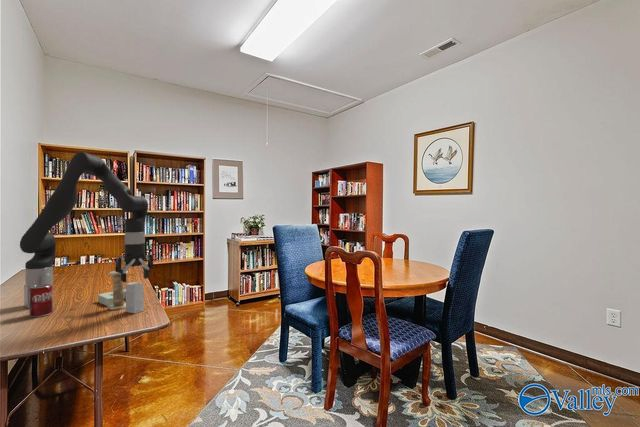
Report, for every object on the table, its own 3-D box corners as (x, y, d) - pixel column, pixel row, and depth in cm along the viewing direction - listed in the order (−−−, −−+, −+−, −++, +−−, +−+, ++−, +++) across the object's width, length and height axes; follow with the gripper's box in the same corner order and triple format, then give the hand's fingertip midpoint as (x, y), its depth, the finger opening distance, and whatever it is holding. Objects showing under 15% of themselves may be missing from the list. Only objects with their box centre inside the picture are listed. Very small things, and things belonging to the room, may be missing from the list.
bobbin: (113, 311, 133) (113, 274, 133) (106, 308, 137) (106, 272, 137) (130, 307, 139) (130, 271, 139) (123, 304, 143) (123, 269, 143)
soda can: (57, 313, 131) (57, 284, 130) (36, 318, 124) (36, 288, 124) (45, 311, 133) (45, 283, 133) (25, 316, 126) (24, 287, 126)
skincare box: (144, 310, 134) (144, 283, 134) (134, 313, 130) (134, 285, 130) (134, 308, 136) (134, 281, 136) (125, 311, 133) (125, 284, 132)
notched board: (108, 306, 139) (108, 298, 139) (97, 301, 146) (97, 294, 146) (140, 299, 150) (140, 292, 150) (128, 295, 157) (128, 288, 157)
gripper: (147, 240, 141) (148, 276, 141) (112, 243, 129) (112, 282, 130) (156, 241, 137) (156, 278, 137) (120, 244, 125) (120, 284, 125)
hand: (135, 280), depth 133 cm, fingers open, 8 cm apart
